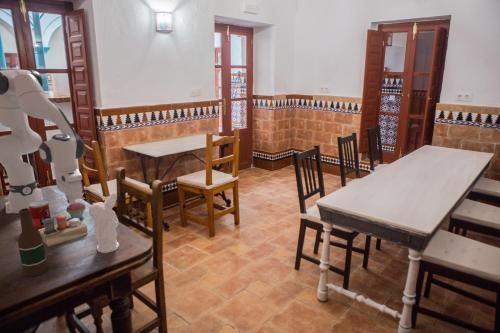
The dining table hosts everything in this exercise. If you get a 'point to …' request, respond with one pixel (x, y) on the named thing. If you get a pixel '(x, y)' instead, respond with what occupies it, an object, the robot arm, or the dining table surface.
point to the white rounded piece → (74, 222)
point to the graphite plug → (49, 225)
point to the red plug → (61, 222)
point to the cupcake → (76, 210)
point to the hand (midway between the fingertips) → (70, 203)
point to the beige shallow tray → (63, 234)
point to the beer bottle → (31, 246)
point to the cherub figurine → (105, 224)
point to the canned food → (39, 212)
